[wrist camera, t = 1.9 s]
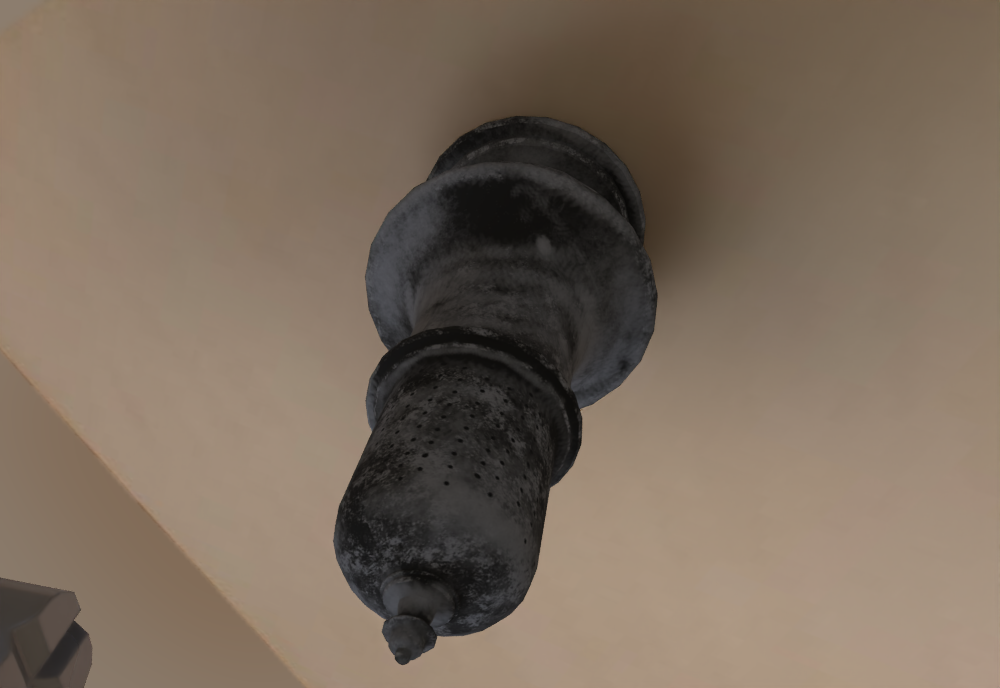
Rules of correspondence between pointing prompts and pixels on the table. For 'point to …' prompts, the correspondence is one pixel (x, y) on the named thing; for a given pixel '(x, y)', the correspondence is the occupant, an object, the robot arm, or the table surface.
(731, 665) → the table surface
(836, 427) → the table surface
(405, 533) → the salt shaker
